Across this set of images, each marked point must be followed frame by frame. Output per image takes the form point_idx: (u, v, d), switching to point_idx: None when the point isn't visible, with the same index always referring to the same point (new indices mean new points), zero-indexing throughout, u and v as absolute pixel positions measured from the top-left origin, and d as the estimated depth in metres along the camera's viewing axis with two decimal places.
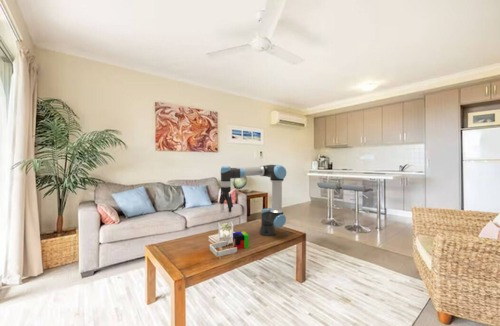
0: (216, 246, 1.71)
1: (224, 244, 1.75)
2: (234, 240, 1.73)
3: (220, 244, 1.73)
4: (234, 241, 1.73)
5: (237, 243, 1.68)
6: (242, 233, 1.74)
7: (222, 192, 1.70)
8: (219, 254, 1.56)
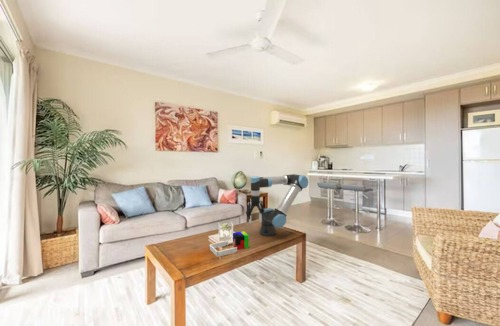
0: (216, 246, 1.71)
1: (224, 244, 1.75)
2: (234, 240, 1.73)
3: (220, 244, 1.73)
4: (234, 241, 1.73)
5: (237, 243, 1.68)
6: (242, 233, 1.74)
7: (260, 201, 1.84)
8: (219, 254, 1.56)
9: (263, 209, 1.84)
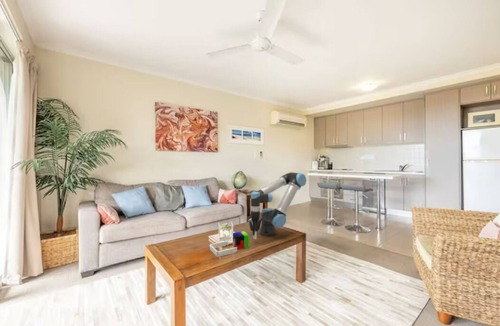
0: (216, 246, 1.71)
1: (224, 244, 1.75)
2: (234, 240, 1.73)
3: (220, 244, 1.73)
4: (234, 241, 1.73)
5: (237, 243, 1.68)
6: (242, 233, 1.74)
7: (259, 217, 1.84)
8: (219, 254, 1.56)
9: (259, 226, 1.82)
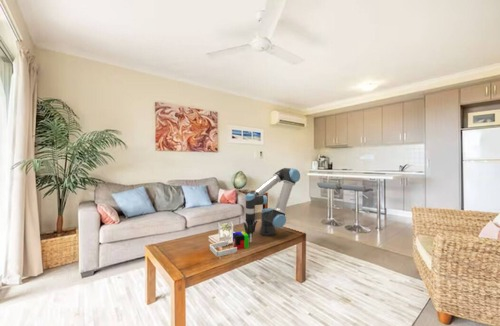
0: (216, 246, 1.71)
1: (224, 244, 1.75)
2: (234, 240, 1.73)
3: (220, 244, 1.73)
4: (234, 241, 1.73)
5: (237, 243, 1.68)
6: (242, 233, 1.74)
7: (254, 220, 1.81)
8: (219, 254, 1.56)
9: (254, 229, 1.80)
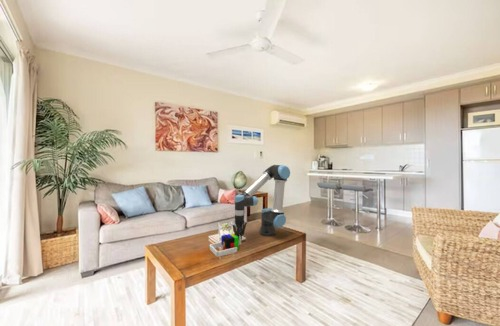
0: (216, 246, 1.71)
1: None
2: (223, 243, 1.66)
3: (220, 244, 1.73)
4: (223, 244, 1.66)
5: (227, 246, 1.62)
6: (231, 236, 1.69)
7: None
8: (219, 254, 1.56)
9: (244, 231, 1.74)
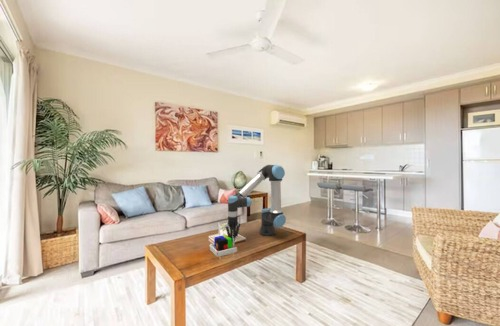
0: None
1: None
2: (216, 245, 1.63)
3: None
4: (216, 246, 1.63)
5: (220, 248, 1.59)
6: (224, 237, 1.66)
7: (238, 223, 1.73)
8: (219, 254, 1.56)
9: (237, 233, 1.71)
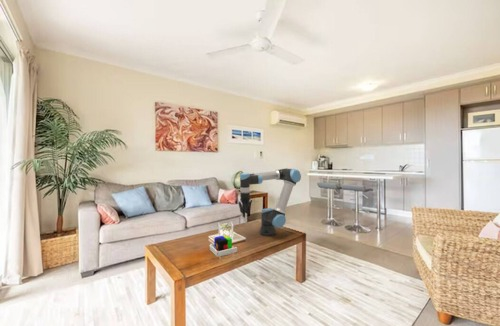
0: None
1: None
2: (216, 245, 1.63)
3: None
4: (216, 246, 1.63)
5: (220, 248, 1.59)
6: (224, 237, 1.66)
7: (249, 199, 1.79)
8: (219, 254, 1.56)
9: (249, 208, 1.77)
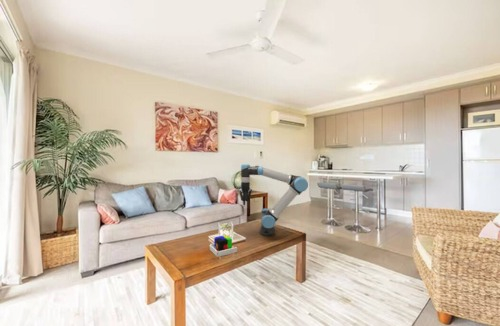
0: None
1: None
2: (216, 245, 1.63)
3: None
4: (216, 246, 1.63)
5: (220, 248, 1.59)
6: (224, 237, 1.66)
7: (249, 188, 1.93)
8: (219, 254, 1.56)
9: (249, 197, 1.91)
